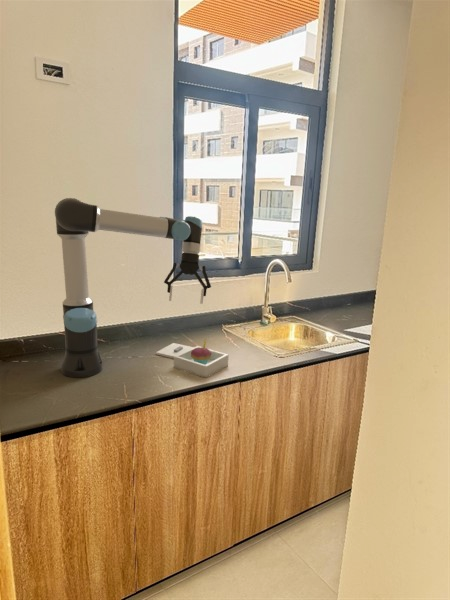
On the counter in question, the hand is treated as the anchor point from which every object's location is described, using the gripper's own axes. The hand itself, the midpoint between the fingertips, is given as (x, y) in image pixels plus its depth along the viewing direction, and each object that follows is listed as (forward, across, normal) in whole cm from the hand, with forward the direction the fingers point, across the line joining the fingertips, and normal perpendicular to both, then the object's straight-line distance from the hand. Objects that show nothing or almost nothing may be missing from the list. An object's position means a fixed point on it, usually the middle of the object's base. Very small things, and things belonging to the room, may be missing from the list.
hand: (185, 302), depth 178 cm
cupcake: (+25, -8, +11) cm, 28 cm away
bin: (+25, -8, +11) cm, 29 cm away
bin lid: (+23, +1, -5) cm, 23 cm away
